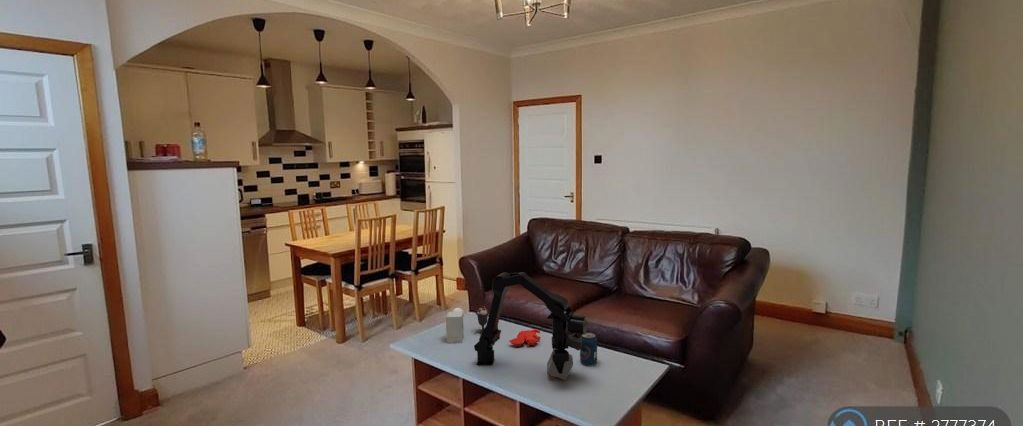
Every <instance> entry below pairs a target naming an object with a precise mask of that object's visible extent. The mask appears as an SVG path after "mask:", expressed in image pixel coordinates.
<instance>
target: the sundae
mask: <svg viewBox="0 0 1023 426" xmlns="http://www.w3.org/2000/svg"><path fill="white" fill-rule="evenodd" d="M489 312H490V311H489V310H488V309H487V308H486V306H485V304H483V305H482V306H478V310H477V311H475V315H477V322H478V324H479V326H481V330H479V331H478V332H477V333H478V334H479V335H481V334H482V332H483V330H484V328H485V326H486V325H487V321H488V317H489Z"/></svg>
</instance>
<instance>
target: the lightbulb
mask: <svg viewBox="0 0 1023 426" xmlns="http://www.w3.org/2000/svg"><path fill="white" fill-rule="evenodd" d="M464 311H465V310H463V308H462V307H455V308H453V309H452V311H451V312H463V318H464V317H465V312H464Z"/></svg>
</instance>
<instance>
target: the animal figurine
mask: <svg viewBox="0 0 1023 426" xmlns="http://www.w3.org/2000/svg"><path fill="white" fill-rule="evenodd" d="M538 334H541V331H540V330H538V329H536V328H533V329H530V330H521V331H519V332H518V334H517V335H516V337H515V338H512V339H510V340H509V341H508V342H509V343H510V344H511V345H513V346H515V347H519V348H520V347H521V346H522V345H523V344H524V343H527V345H526V347H527V346H528V347H530V346H535V345H536V344H537V343H540V340H541V336H539V335H538Z"/></svg>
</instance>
